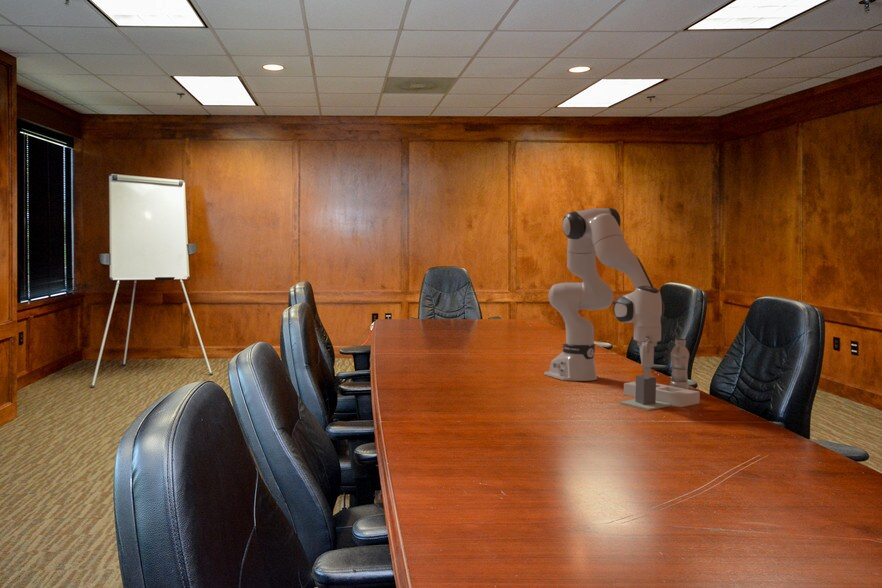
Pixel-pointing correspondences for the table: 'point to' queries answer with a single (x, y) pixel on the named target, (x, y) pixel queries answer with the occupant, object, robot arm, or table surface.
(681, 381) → the plastic bottle
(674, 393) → the grey holed block
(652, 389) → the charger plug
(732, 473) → the table surface
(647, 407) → the mat
